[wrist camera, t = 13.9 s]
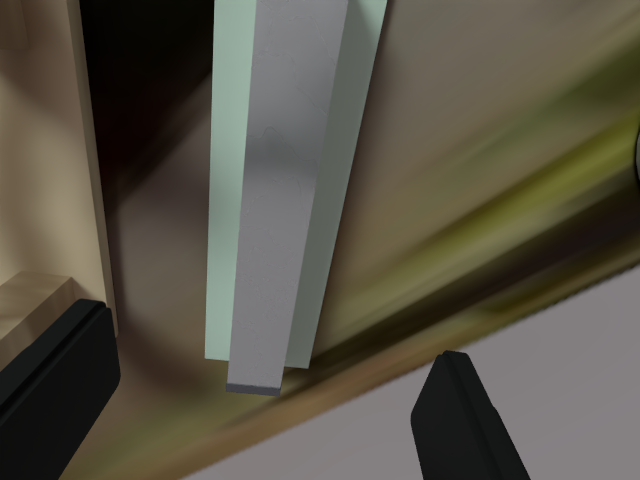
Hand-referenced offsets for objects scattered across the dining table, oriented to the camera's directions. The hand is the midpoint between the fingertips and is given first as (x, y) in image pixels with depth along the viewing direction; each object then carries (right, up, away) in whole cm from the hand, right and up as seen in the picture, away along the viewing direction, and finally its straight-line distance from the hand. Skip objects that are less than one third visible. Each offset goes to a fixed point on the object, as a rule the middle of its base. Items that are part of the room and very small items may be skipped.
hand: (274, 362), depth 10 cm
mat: (-1, +6, +11) cm, 13 cm away
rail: (-1, +5, +11) cm, 12 cm away
